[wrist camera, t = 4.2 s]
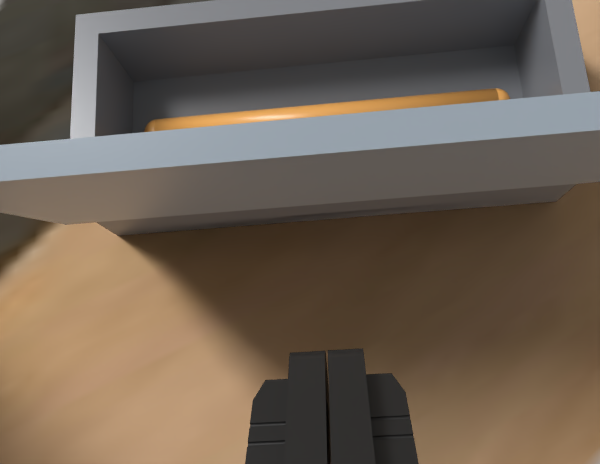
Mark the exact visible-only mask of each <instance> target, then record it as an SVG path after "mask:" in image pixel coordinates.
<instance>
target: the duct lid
mask: <svg viewBox="0 0 600 464" xmlns="http://www.w3.org/2000/svg"><path fill="white" fill-rule="evenodd" d="M593 182H600V91H596V92H585V93H574V94H563V95H552V96H541V97H530V98H519V99H508V100H496V101H485V102H474V103H463V104H452V105H441V106H430V107H419V108H407V109H396V110H385V111H374V112H363V113H352V114H341V115H330V116H319V117H307V118H296V119H285V120H274V121H263V122H252V123H241V124H230V125H219V126H207V127H196V128H185V129H174V130H163V131H152V132H141V133H130V134H119V135H107V136H96V137H85V138H74V139H63V140H52V141H41V142H30V143H19V144H7V145H0V212H1V213H6V214H12V215H17V216H22V217H28V218H33V219H38V220H44V221H49V222H54V223H60V224H65V225H67V224H80V223H92V222H105V221H117V220H130V219H142V218H155V217H167V216H180V215H192V214H205V213H217V212H230V211H242V210H255V209H267V208H280V207H292V206H305V205H318V204H330V203H343V202H355V201H368V200H380V199H393V198H405V197H418V196H430V195H443V194H455V193H468V192H480V191H493V190H505V189H518V188H530V187H543V186H555V185H568V184H580V183H593Z"/></svg>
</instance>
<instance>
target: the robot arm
mask: <svg viewBox="0 0 600 464" xmlns="http://www.w3.org/2000/svg"><path fill="white" fill-rule="evenodd" d="M328 371H329V384H328V373H327V362H326V353H325V351H312V352H294V353H290V356H289V374H288V379H278V380H265V382H264V383H263V385H262V387H261V388H260V390H259V391H258V393H257V395H256V396H255V398H254V399H253V404H252V412H251V420H250V429H249V437H248V447H247V454H246V462H245V464H418V458H417V453H416V447H415V442H414V438H413V431H412V425H411V420H410V414H409V409H408V403H407V398H406V392H405V391H404V390H403V388H402V387H401V386H400V384H399V383H398V382H397V380H396V379H395V377H394V376H393V375H392V373H387V374H368V375H366V370H365V361H364V352H363V348H362V349H344V350H328Z"/></svg>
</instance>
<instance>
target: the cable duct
mask: <svg viewBox="0 0 600 464" xmlns="http://www.w3.org/2000/svg"><path fill="white" fill-rule="evenodd" d="M585 92H590V87H589V82H588V78H587V73H586V68H585V63H584V58H583V53H582V48H581V43H580V38H579V34H578V29H577V24H576V19H575V14H574V9H573V4H572V0H214V1H204V2H195V3H185V4H176V5H166V6H156V7H147V8H137V9H128V10H118V11H109V12H99V13H89V14H80V15H76V25H75V46H74V67H73V89H72V110H71V132H70V139H74V138H85V137H96V136H107V135H119V134H130V133H141V132H152V131H163V130H174V129H185V128H196V127H207V126H219V125H230V124H241V123H252V122H263V121H274V120H285V119H296V118H307V117H319V116H330V115H341V114H352V113H363V112H374V111H385V110H396V109H407V108H419V107H430V106H441V105H452V104H463V103H474V102H485V101H496V100H508V99H519V98H530V97H541V96H552V95H563V94H574V93H585ZM575 185H576V184H568V185H555V186H543V187H530V188H518V189H505V190H493V191H480V192H468V193H455V194H443V195H430V196H418V197H405V198H393V199H380V200H368V201H355V202H343V203H330V204H318V205H305V206H292V207H280V208H267V209H255V210H242V211H230V212H217V213H205V214H192V215H180V216H167V217H155V218H142V219H130V220H117V221H105V222H97V223H98V224H100V225H101V226H103V227H105V228H106V229H108V230H109V231H111V232H113V233H114V234H116V235H117V236H120V235H133V234H146V233H158V232H171V231H184V230H197V229H210V228H222V227H235V226H248V225H261V224H274V223H286V222H299V221H312V220H325V219H338V218H350V217H363V216H376V215H389V214H402V213H414V212H427V211H440V210H453V209H466V208H478V207H491V206H504V205H517V204H530V203H542V202H555V201H557V200H558V199H560V198H561V197H562V196H563V195H564V194H565V193H567V192H568V191H569V190H570V189H571V188H572V187H574V186H575Z"/></svg>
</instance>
